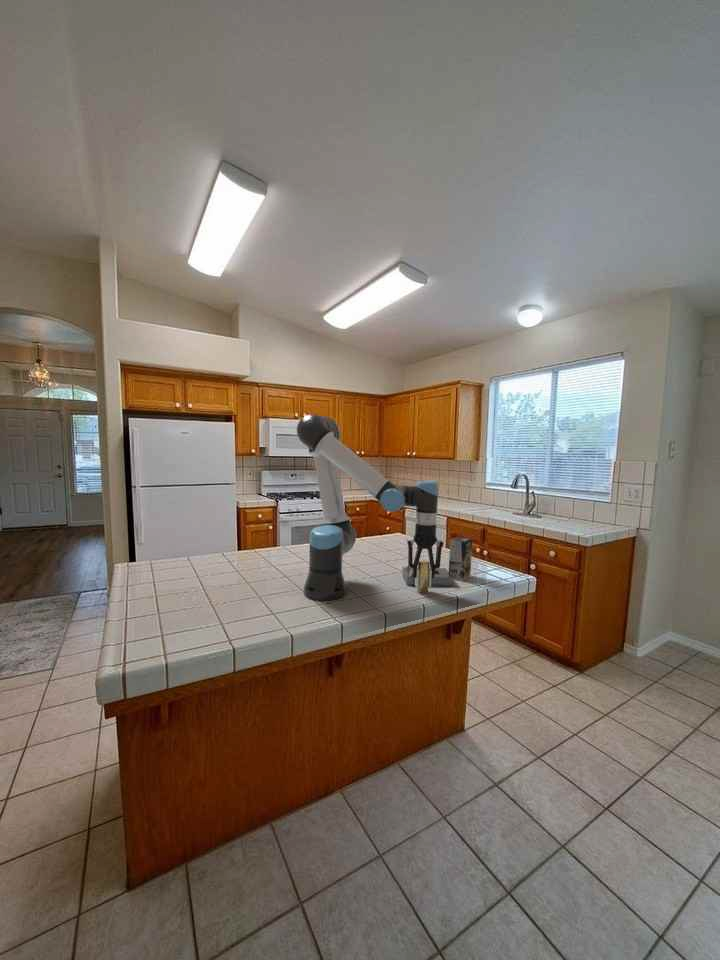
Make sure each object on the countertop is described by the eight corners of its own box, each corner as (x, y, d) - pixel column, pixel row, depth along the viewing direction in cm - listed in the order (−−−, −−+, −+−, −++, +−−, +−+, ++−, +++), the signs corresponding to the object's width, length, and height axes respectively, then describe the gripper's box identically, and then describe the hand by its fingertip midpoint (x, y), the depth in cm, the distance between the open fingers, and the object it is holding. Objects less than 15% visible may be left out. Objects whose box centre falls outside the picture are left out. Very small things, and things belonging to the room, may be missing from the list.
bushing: (418, 593, 141) (419, 563, 140) (416, 589, 145) (417, 560, 144) (429, 593, 141) (430, 564, 140) (426, 589, 145) (428, 560, 144)
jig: (406, 585, 149) (407, 572, 149) (402, 575, 161) (402, 563, 161) (452, 586, 150) (453, 573, 150) (445, 576, 162) (445, 564, 162)
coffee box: (462, 581, 156) (464, 542, 155) (447, 578, 160) (449, 539, 159) (471, 576, 163) (473, 538, 162) (456, 572, 167) (458, 536, 166)
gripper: (404, 524, 137) (401, 589, 139) (451, 526, 138) (448, 590, 139) (401, 521, 145) (398, 582, 146) (446, 522, 145) (443, 583, 147)
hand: (422, 585), depth 143 cm, fingers closed on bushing, 4 cm apart
